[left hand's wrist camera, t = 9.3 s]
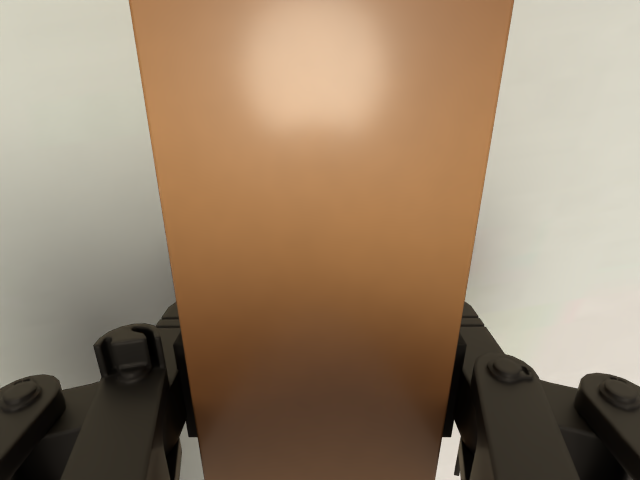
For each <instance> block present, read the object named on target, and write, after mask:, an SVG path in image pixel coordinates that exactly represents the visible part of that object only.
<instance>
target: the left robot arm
mask: <svg viewBox="0 0 640 480" xmlns="http://www.w3.org/2000/svg"><path fill="white" fill-rule="evenodd" d="M93 346H94V350H95V354H96V358H97V362H98V365H99V369H100V373H101V377H102V378H101V380H100V381H99V382H96V383H92V384H89V385H84V386H79V387H75V388H70V389H66V390H62V388H61V385H60V382H59V380H58V379H57V378H55V377H54V376H50V375H44V374H43V375H35V376H29V377H25V378H23V379H19V380H16V381H14V382H12V383H10V384H8V385H6V386H4V387H2V388H1V389H0V480H179V476H180V466H181V455H182V450H181V444H180V438H179V436H180V434H181V431H182V429H183V426H184V424H185V421H186V425H187V430H188V436H189V437H198V435H197V429H196V423H195V416H194V410H193V404H192V397H191V391H190V385H189V378H188V372H187V366H186V359H185V353H184V347H183V340H182V334H181V328H180V321H179V315H178V309H177V302H176V303H174V304H173V305H171V306H170V307H169V308H168V309H167V310H166V312H165V313H164V315H163V316H162V319H160V321H159V322H158V323H157V325H156V327H155V326H154V325H149V324H145V323H144V324H131V325H126V326H122V327H119V328H117V329H114V330H112V331H109V332H108V333H106V334H105V335H103V336H102V337H100V338H99V339H98V341H97V342H96V343H95V344H94V345H93ZM454 420H455V423H456V425H457V428H458V430H459V433H460V435H461V438H460V444H459V449H458V455H457V460H456V465H455V472H454V475H457V476H459V473H460V475H461V480H640V387H639V386H637V385H635V384H633V383H631V382H629V381H627V380H626V379H623V378H620V377H617V376H613V375H610V374H602V373H592V374H587V375H585V376H584V377H583V378H582V379H581V381H580V384H579V387H578V389H577V388H573V387H568V386H563V385H559V384H554V383H550V382H546V381H542V380H540V379H539V377H538V375H537V374H536V372H535V371H534V370H533V368H531V367H530V366H529V365H527V364H526V363H525V362H524V361H522V360H519V359H517V358H515V357H513V356H510V355H506V354H504V352H503V351H502V349H501V348H500V346H499V345H498V344H497V342H496V341H495V339H494V338H493V336H492V335H491V334H490V332H489V331H488V329H487V328H486V327H484V324H483V322H482V321H481V319H480V318H478V315H477V314H476V312H475V311H474V309H473V308H472V307H471V306H470V305H469V304H468V303H466V302H465V301H464V307H463V313H462V319H461V325H460V331H459V337H458V343H457V349H456V355H455V361H454V368H453V374H452V380H451V386H450V392H449V398H448V404H447V410H446V416H445V422H444V428H443V434H442V437H451V434H452V428H453V423H454Z"/></svg>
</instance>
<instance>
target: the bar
mask: <svg viewBox="0 0 640 480" xmlns="http://www.w3.org/2000/svg"><path fill="white" fill-rule="evenodd" d="M513 4H514V0H129V5H130V11H131V17H132V24H133V30H134V36H135V43H136V49H137V55H138V62H139V68H140V74H141V81H142V87H143V93H144V100H145V106H146V112H147V119H148V125H149V131H150V138H151V144H152V150H153V157H154V163H155V169H156V176H157V182H158V188H159V195H160V201H161V207H162V214H163V220H164V226H165V233H166V239H167V245H168V252H169V258H170V264H171V271H172V277H173V283H174V290H175V296H176V302H177V309H178V315H179V321H180V328H181V334H182V340H183V347H184V353H185V359H186V366H187V372H188V378H189V385H190V391H191V397H192V404H193V410H194V416H195V423H196V429H197V435H198V442H199V448H200V454H201V461H202V467H203V473H204V480H435V476H436V470H437V464H438V458H439V452H440V446H441V440H442V434H443V428H444V422H445V416H446V410H447V404H448V398H449V392H450V386H451V380H452V374H453V368H454V361H455V355H456V349H457V343H458V337H459V331H460V325H461V319H462V313H463V307H464V301H465V295H466V289H467V283H468V277H469V271H470V265H471V259H472V252H473V246H474V240H475V234H476V228H477V222H478V216H479V210H480V204H481V198H482V192H483V186H484V180H485V174H486V168H487V162H488V156H489V150H490V144H491V137H492V131H493V125H494V119H495V113H496V107H497V101H498V95H499V89H500V83H501V77H502V71H503V65H504V59H505V53H506V47H507V41H508V35H509V28H510V22H511V16H512V10H513Z"/></svg>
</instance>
